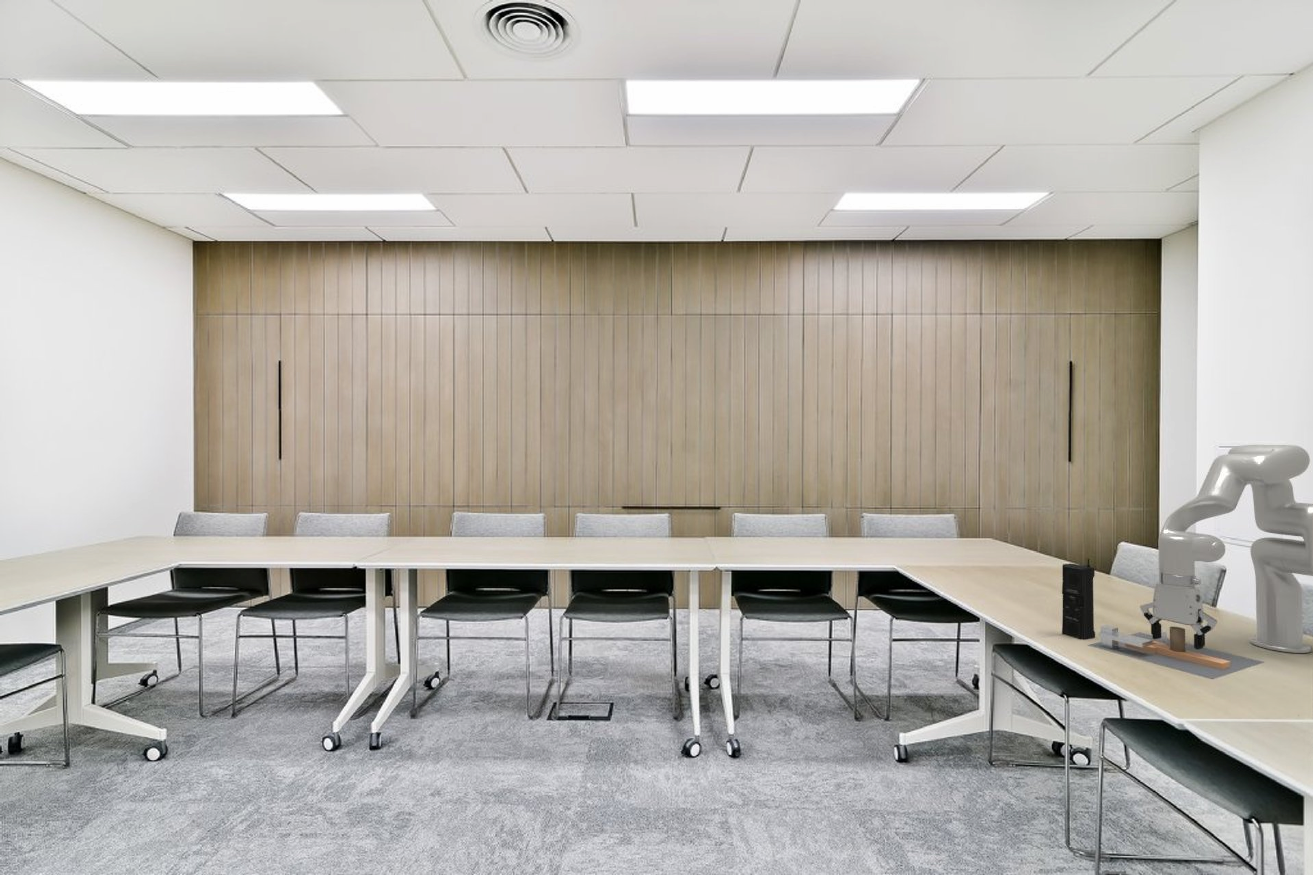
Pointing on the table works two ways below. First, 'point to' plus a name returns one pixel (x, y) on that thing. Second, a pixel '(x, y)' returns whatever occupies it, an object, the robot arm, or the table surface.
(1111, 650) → the pintle board
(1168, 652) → the link
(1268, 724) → the table surface
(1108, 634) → the keeper
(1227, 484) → the robot arm
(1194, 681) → the table surface
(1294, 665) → the table surface
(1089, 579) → the portable radio
